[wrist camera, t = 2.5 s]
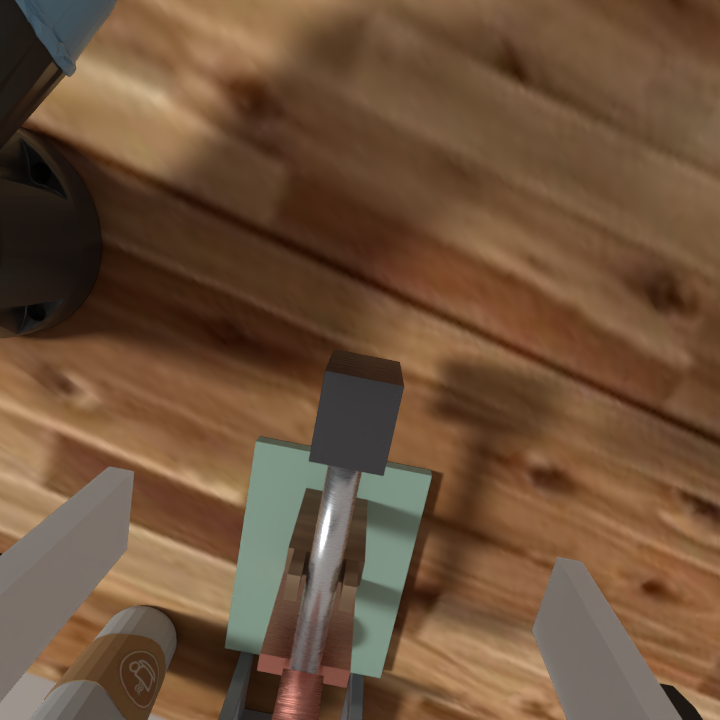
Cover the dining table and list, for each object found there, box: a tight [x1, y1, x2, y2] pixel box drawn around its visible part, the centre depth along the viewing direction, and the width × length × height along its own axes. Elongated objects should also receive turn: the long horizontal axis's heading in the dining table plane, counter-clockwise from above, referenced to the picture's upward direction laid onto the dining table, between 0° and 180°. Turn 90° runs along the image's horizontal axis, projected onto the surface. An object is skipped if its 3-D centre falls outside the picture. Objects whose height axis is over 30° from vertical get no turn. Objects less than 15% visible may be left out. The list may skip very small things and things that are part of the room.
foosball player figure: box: [283, 488, 368, 613], centre depth 34 cm, size 2×5×11 cm, turn 79°
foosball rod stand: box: [257, 349, 404, 720], centre depth 29 cm, size 22×6×16 cm, turn 169°
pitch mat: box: [225, 436, 432, 678], centre depth 40 cm, size 20×14×1 cm
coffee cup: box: [29, 606, 177, 720], centre depth 36 cm, size 8×8×15 cm
